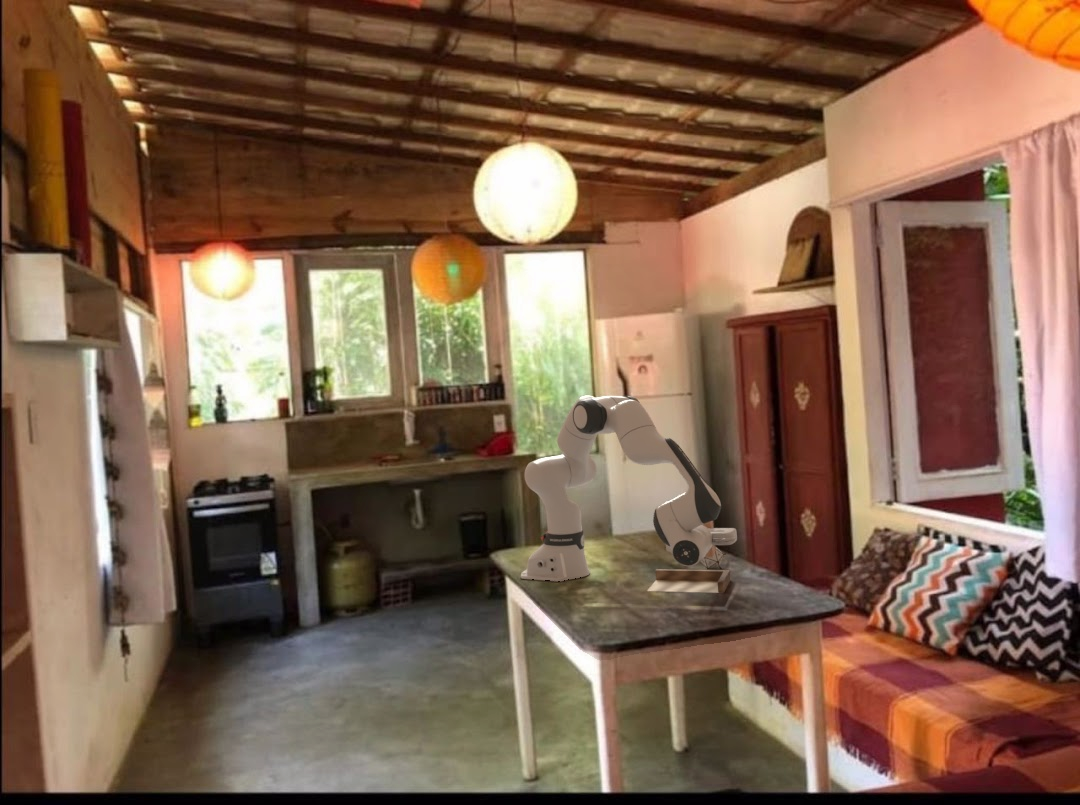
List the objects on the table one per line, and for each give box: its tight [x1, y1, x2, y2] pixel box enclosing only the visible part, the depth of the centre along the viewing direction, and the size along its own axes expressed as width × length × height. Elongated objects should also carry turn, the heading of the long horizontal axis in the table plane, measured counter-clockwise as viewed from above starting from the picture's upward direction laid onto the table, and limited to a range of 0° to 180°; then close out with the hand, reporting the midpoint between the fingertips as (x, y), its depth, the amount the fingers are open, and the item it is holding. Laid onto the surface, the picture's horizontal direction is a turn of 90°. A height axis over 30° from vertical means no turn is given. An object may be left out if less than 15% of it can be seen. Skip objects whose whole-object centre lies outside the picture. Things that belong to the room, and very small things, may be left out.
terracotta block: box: [702, 520, 716, 557], centre depth 247 cm, size 5×5×12 cm
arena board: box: [646, 568, 731, 594], centre depth 248 cm, size 22×14×4 cm, turn 70°
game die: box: [699, 545, 727, 570], centre depth 269 cm, size 9×8×10 cm
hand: (704, 530), depth 248 cm, fingers closed on terracotta block, 5 cm apart
